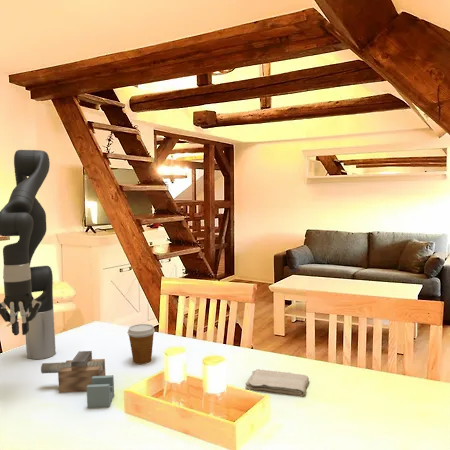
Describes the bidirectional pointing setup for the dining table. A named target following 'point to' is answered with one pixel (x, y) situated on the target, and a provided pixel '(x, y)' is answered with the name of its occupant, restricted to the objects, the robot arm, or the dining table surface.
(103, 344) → the dining table surface
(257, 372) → the washcloth
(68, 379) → the walnut bearing block
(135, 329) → the disposable coffee cup
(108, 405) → the slate V-block
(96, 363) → the steel axle
